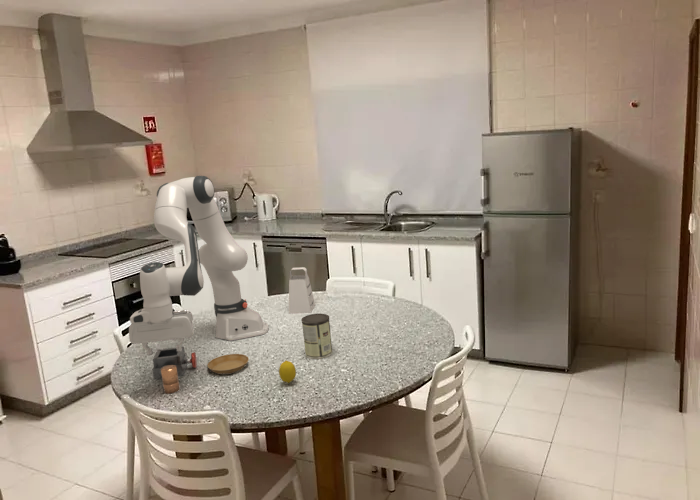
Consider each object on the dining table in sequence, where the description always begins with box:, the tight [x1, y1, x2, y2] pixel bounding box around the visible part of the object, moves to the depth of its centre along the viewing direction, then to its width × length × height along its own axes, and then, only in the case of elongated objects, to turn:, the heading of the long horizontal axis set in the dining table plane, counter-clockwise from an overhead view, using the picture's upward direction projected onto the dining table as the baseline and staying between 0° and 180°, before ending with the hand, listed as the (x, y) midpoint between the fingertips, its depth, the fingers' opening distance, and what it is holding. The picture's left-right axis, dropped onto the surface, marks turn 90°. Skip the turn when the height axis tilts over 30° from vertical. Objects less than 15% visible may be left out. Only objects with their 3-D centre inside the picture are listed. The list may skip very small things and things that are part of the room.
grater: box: [288, 266, 316, 315], centre depth 263 cm, size 10×10×20 cm
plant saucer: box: [206, 353, 250, 375], centre depth 205 cm, size 15×15×3 cm
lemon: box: [278, 360, 297, 384], centre depth 187 cm, size 6×6×8 cm
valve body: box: [152, 346, 198, 380], centre depth 206 cm, size 16×14×7 cm
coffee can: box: [301, 313, 333, 360], centre depth 209 cm, size 10×10×14 cm
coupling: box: [161, 365, 181, 395], centre depth 189 cm, size 5×5×8 cm
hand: (164, 352), depth 187 cm, fingers open, 8 cm apart
